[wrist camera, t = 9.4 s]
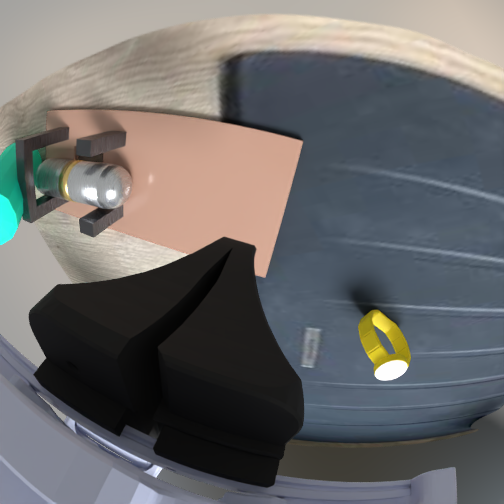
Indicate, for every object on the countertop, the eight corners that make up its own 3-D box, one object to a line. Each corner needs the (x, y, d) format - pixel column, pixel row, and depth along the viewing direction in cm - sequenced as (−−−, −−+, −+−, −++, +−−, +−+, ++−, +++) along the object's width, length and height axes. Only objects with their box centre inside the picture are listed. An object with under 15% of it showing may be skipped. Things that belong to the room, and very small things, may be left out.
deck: (303, 140, 17) (303, 141, 16) (266, 273, 23) (265, 277, 22) (51, 110, 19) (46, 111, 18) (53, 205, 25) (49, 207, 24)
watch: (408, 323, 22) (423, 373, 17) (387, 339, 24) (398, 388, 19) (371, 295, 21) (385, 350, 16) (348, 314, 23) (356, 368, 18)
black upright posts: (126, 131, 18) (76, 144, 14) (123, 216, 22) (82, 245, 17) (59, 127, 19) (15, 139, 14) (61, 197, 23) (22, 219, 18)
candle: (39, 135, 20) (1, 192, 13) (45, 182, 24) (22, 253, 17) (-4, 146, 17) (-49, 207, 10) (6, 191, 21) (-25, 262, 14)
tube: (139, 158, 19) (110, 177, 16) (142, 199, 21) (117, 222, 18) (50, 151, 20) (24, 166, 17) (56, 183, 23) (32, 200, 20)
